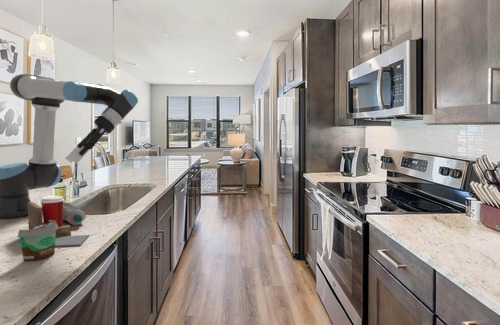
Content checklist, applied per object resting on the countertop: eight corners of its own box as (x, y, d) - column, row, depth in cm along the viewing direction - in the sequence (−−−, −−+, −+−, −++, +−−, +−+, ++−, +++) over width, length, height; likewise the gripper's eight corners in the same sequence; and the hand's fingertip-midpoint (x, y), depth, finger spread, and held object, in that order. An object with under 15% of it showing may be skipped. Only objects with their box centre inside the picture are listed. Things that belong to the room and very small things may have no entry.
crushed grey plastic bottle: (45, 218, 144) (58, 229, 126) (46, 202, 144) (59, 211, 125) (77, 215, 153) (94, 226, 135) (78, 200, 153) (95, 209, 134)
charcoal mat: (59, 238, 118) (59, 236, 117) (88, 236, 120) (88, 234, 120) (48, 247, 108) (48, 245, 108) (80, 245, 110) (80, 244, 110)
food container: (37, 265, 94) (35, 231, 93) (19, 263, 95) (17, 230, 94) (68, 250, 106) (66, 220, 105) (51, 248, 107) (50, 219, 106)
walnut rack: (59, 227, 130) (58, 198, 129) (71, 235, 121) (69, 203, 120) (28, 233, 122) (27, 202, 121) (38, 241, 113) (37, 208, 112)
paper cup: (58, 229, 128) (56, 194, 127) (69, 232, 124) (68, 196, 123) (37, 234, 121) (35, 198, 120) (48, 238, 117) (46, 200, 116)
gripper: (123, 125, 124) (84, 168, 116) (108, 129, 144) (74, 165, 136) (107, 111, 120) (66, 155, 112) (94, 117, 140) (58, 154, 133)
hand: (70, 161), depth 124 cm, fingers open, 13 cm apart
